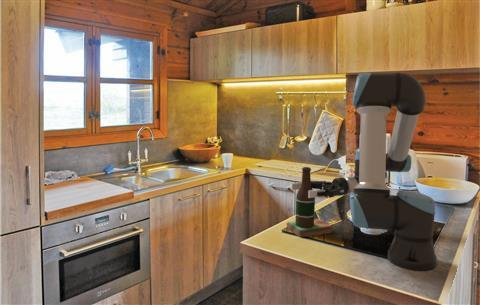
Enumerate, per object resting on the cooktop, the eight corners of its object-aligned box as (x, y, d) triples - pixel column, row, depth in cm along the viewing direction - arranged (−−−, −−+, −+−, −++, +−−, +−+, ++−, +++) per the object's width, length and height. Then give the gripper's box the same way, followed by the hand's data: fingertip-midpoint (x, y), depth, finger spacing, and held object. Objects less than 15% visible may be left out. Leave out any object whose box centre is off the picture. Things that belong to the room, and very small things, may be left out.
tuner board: (332, 232, 160) (332, 226, 159) (299, 237, 154) (300, 230, 154) (317, 224, 170) (317, 218, 169) (286, 228, 164) (286, 222, 164)
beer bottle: (301, 221, 166) (303, 165, 162) (317, 225, 161) (319, 167, 157) (291, 225, 160) (293, 167, 156) (308, 229, 155) (310, 170, 151)
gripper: (363, 202, 154) (316, 207, 146) (326, 188, 177) (285, 192, 169) (364, 183, 153) (317, 187, 145) (327, 172, 176) (285, 175, 168)
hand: (299, 190), depth 157 cm, fingers open, 13 cm apart
